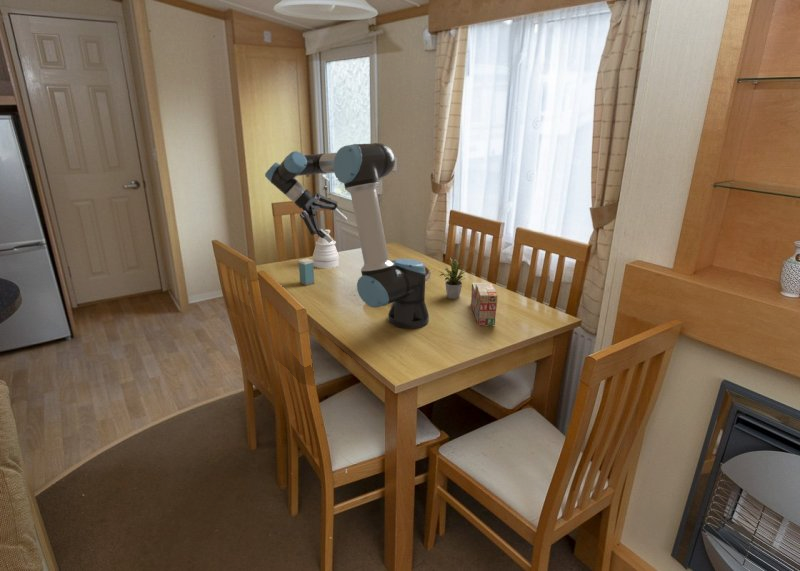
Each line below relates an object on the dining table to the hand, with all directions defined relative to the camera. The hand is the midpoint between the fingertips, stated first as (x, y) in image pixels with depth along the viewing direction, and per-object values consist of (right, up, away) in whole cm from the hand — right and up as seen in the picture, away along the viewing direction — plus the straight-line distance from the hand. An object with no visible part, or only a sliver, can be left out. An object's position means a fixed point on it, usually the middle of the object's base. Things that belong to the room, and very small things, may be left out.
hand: (338, 230), depth 204 cm
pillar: (-16, -22, +14) cm, 31 cm away
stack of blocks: (+57, -34, -16) cm, 69 cm away
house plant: (+47, -27, +2) cm, 55 cm away
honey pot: (-11, -13, +41) cm, 44 cm away
